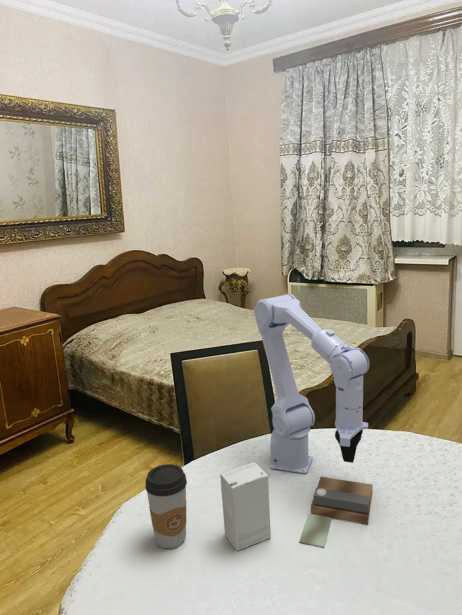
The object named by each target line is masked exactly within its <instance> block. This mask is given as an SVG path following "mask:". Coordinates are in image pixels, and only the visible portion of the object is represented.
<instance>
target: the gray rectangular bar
mask: <svg viewBox="0 0 462 615" xmlns="http://www.w3.org/2000/svg"><path fill="white" fill-rule="evenodd" d="M312 501H313V504H318V505H324V506H329V507H335V508H341V509H347V510H352V511H358V512H364V513H368V510H369V496H363V495H357V494H351V493H345V492H339V491H332V490H326V489H320V488H317V487H315V491H314V492H313V498H312Z"/></svg>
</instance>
